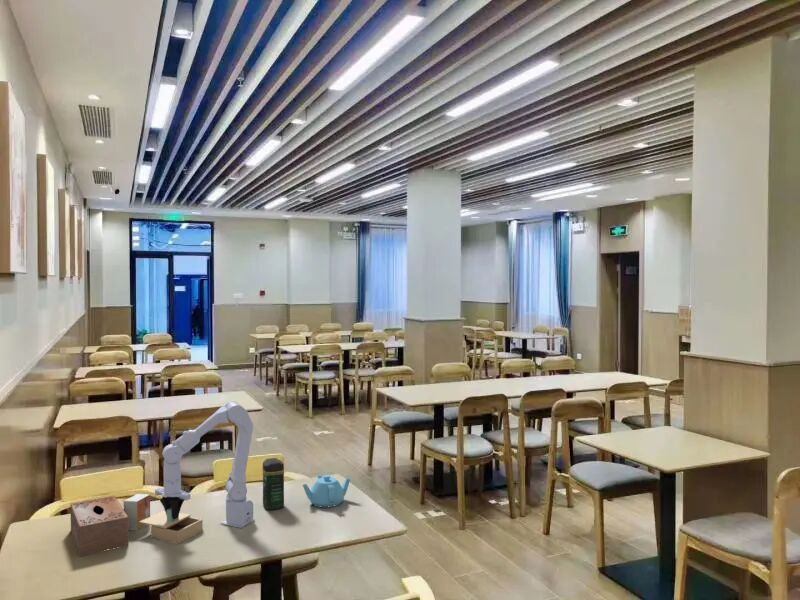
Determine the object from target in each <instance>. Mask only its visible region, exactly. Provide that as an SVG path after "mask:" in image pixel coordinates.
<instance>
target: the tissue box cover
mask: <svg viewBox="0 0 800 600" xmlns="http://www.w3.org/2000/svg"><path fill="white" fill-rule="evenodd" d="M70 532H71V535H72V537H73V540H74V544H75V546H76V549H77V552H78V555H79V557H85V555H86V556H89V554H90V555H94V554H97V553H98V552H99V553H102V552H101V551H103V552H105V551H104V550H107V549H112V550H114V549H113V548H116V549H118V548H117V547H121V548H125V547H127V546H128V547H129V530H128V516H127V514H126V513H125V511H124V507H122V505H121V503H120V502H119V500H118V499H117V497H116V496H115V495H111V496H104V497H99V498H94V499H93V498H92V499H89V500H83V501H77V502H73V503H70ZM124 546H125V547H124ZM107 551H108V550H107ZM93 553H94V554H93Z"/></svg>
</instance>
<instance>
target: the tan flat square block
mask: <svg viewBox="0 0 800 600" xmlns="http://www.w3.org/2000/svg"><path fill="white" fill-rule="evenodd" d="M191 516H192V515H191V514H189V513H182V512H179V516H178V518H176V519H173V518H172V509H171V508H169V509H167V515H166V512H165V509H164V510H162V511H160V512H158V513H155V514H153V515H150V517H148V518H146V519H144V520H142V521H139V523H140V524H145V526H150V527H151V526H155V527H160V528H165V529H166V528H168V527H170V526H172V525H174V524H176V523H178V522H180V521H182V520H184V519H186V518H188V517H191Z"/></svg>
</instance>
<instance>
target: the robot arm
mask: <svg viewBox="0 0 800 600" xmlns="http://www.w3.org/2000/svg"><path fill="white" fill-rule="evenodd" d="M229 420H230V422H232V423H234V425H235V426H237V428H238V432H237V437H236V444H235V450H234V455H233V459H232V460H233V462H232V467H231V471H230V473H229V476H228V479H227V480H226V482H225V484H224V489H225V491H226V492H227V494H226V496H225V520H223V521H222V522H220V524H221V525H224V526H231V527H235V528H244V527H246V526H247V525H249V524H251V523H252V522H254V521H255V518H254V503H253V501H252V500H251V499H249V498H248V497H247V495H248V494H247V493H248V488H247V477H246V476H247V475H246V471H247V466H248V460H249V459H248V458H249V455H250V450H251V449H250V448H251V447H250V446H251V442H252V438H253V437H252V435H253V431H254V423H253V422H252V419H251V417H250V415H249V411H248V410H247V409H245V407H243V406H242V405H241V404H239V403H238V402H237V401H233V400H231V401H228V402H227V403H226V404H225V405H222V406H221V407H219V409H217V410H216V411H215V412H214V413H213V414H211V415H210V416H209V417H208V418H207V419H206V420H205V421H203V422H202V423H201V424H200V425H199V426H198V427H196V428H195V429H189V430H184V431H183V432H182V435H181V436H179V437H178V438H177V439H176V440H172V441H171V444H170V443H169V444H168V445H167V444H166V446H165V447H164V448H163V450H162V452H161V455H162V457H163V459H164V460H163V471H162V472H163V488H159V487H158V488H157V489H156V488H155V489H154V495H155V496H162V497H161V498H160V499H159V502H160V503H161V505H162V507H163V509H164V510H165V512H166V515H167V509H169V508H171V509H172V518H173V519H176V518H178V516H179V513H181V508H182V505H183V503H184V501H189V500H190V499H191V493H189V492H186V491H184V490H182V467H181V466H182V465H181V460H182V459H183V458H182V457H183V455H185V454H186V453H188V452H189V451H190V450H192V449H193V448H194V447H195V446H196V445H198V444H199V443H200V441H201V440H200V439H201V437H203V436H204V435H206V434H207V433H208V432H210V431H211V430H212V429H214V428H215V427H216V426H218V425H219V424H226V423H227V424H228V423H230V422H229Z"/></svg>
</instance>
